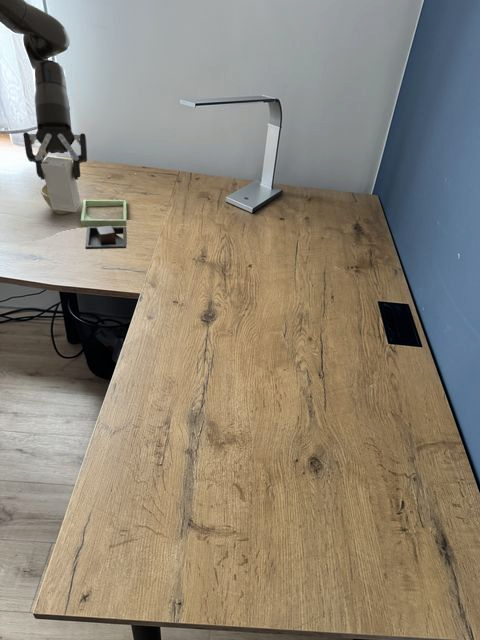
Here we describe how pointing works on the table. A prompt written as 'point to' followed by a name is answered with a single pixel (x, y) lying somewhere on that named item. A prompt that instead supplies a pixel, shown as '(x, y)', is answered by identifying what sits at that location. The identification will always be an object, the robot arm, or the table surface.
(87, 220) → the light tray
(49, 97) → the robot arm
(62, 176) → the cosmetic box
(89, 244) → the dark tray
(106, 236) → the dark block
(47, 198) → the bowl
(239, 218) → the table surface
